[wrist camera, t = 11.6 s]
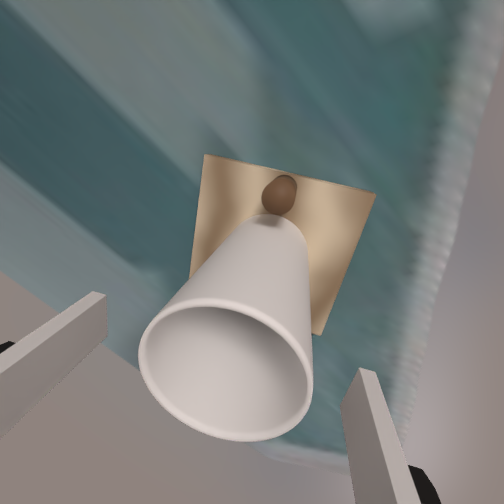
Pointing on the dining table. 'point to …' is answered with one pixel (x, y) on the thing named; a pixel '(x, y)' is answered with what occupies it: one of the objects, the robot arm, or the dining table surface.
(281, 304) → the cup
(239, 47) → the dining table surface
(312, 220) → the peg board
